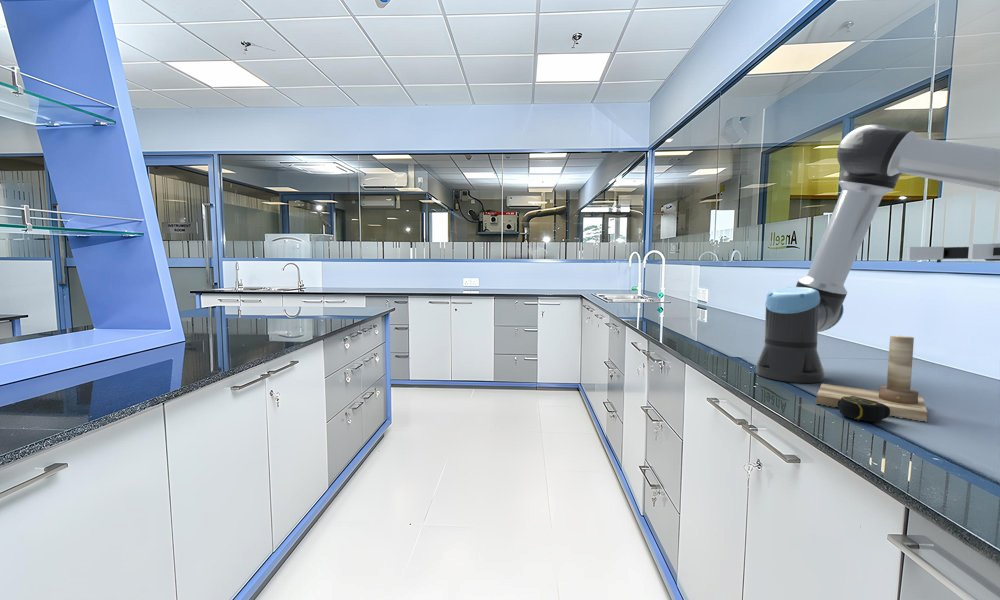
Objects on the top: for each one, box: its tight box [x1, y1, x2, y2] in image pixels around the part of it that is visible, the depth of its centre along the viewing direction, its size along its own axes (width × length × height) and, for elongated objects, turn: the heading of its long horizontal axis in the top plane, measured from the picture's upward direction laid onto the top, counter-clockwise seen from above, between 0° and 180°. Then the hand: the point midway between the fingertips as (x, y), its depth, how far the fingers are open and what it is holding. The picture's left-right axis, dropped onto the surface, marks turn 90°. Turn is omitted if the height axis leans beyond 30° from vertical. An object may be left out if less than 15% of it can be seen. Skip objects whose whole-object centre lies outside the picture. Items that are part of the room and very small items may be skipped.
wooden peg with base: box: [878, 334, 919, 404], centre depth 89 cm, size 7×6×13 cm
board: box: [815, 383, 928, 423], centre depth 93 cm, size 12×17×2 cm
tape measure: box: [837, 396, 890, 422], centre depth 85 cm, size 7×7×4 cm
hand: (936, 252), depth 86 cm, fingers open, 13 cm apart
